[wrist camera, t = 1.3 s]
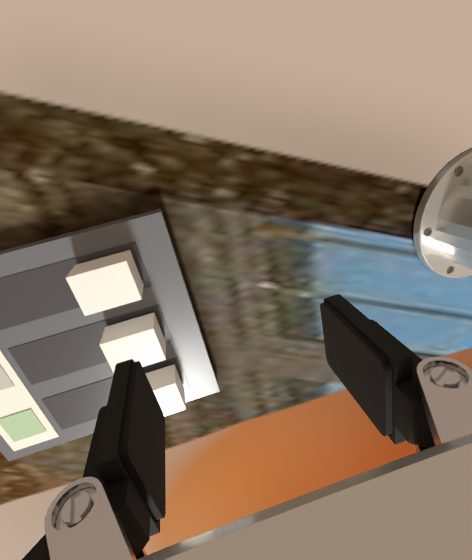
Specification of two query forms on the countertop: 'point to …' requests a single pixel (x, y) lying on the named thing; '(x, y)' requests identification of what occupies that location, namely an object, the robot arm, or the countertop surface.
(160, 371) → the tab
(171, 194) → the countertop surface
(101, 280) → the tab
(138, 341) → the tab
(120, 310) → the switch panel
